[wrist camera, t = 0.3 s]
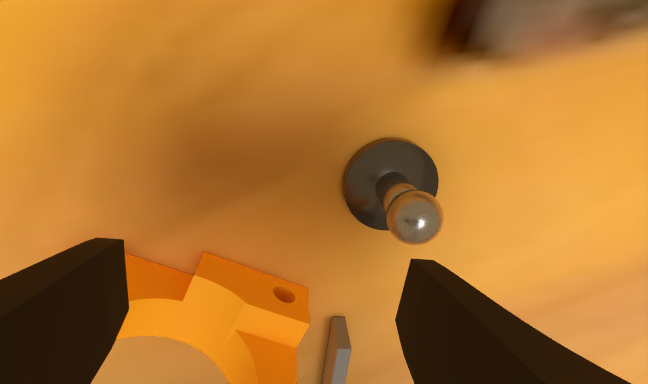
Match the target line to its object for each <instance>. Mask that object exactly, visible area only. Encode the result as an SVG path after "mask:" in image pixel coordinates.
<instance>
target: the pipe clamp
mask: <svg viewBox="0 0 648 384" xmlns="http://www.w3.org/2000/svg"><path fill="white" fill-rule="evenodd" d="M125 264H126V276H127V288H128V300H129V311H128V313H127V315H126V318H125V320H124V322H123V325H122V327H121V329H120V331H119V334H118V336H117V338H116V340H117V339H121V338H126V337H133V336H160V337H166V338H171V339H175V340H178V341H181V342H184V343H187V344H189V345H191V346H193V347H195V348H196V349H198V350H200V351H201V352H203V353H204V354H205V355H207V356H208V357H209V358H210V359H211V360H212V361H214V363H215V364H216V365H217V366H218V367H219V368H220V370H221V371H222V372H223V374H224V375H225V377H226V379H227V380H228V383H229V384H297V369H296V347H297V346H298V344H299V342H300V341H301V339H302V337H303V336H304V334H305V332H306V331H307V329H308V327H309V326H310V317H309V304H308V291H307V288H305V287H302V286H299V285H296V284H294V283H291V282H288V281H285V280H282V279H280V278H277V277H274V276H271V275H268V274H265V273H263V272H260V271H257V270H254V269H251V268H248V267H246V266H243V265H240V264H237V263H234V262H232V261H229V260H226V259H223V258H220V257H217V256H215V255H212V254H209V253H206V252H204V253H203V255H202V257H201V260H200V262H199V264H198V266H197V269H196V271H195V273H194V276H192V275H189V274H186V273H183V272H180V271H177V270H174V269H171V268H168V267H165V266H162V265H159V264H156V263H153V262H150V261H147V260H144V259H142V258H139V257H136V256H133V255H130V254H127V253H125Z"/></svg>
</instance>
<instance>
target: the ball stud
mask: <svg viewBox="0 0 648 384" xmlns="http://www.w3.org/2000/svg"><path fill="white" fill-rule="evenodd" d="M437 189H438V173H437V169H436V166H435V164H434V162H433V160H432V159H431V157H430V156H429V155H428V154H427V153H426V152H425V151H424V150H422V149H421V148H420V147H418V146H417V145H415V144H414V143H412V142H410V141H408V140H404V139H400V138H384V139H380V140H377V141H374V142H372V143H370V144H368V145H366V146H365V147H363V148H362V149H361V150H359V151H358V152H357V153H356V154H355V155H354V157H353V158H352V159H351V161H350V162H349V164H348V166H347V168H346V171H345V173H344V178H343V192H344V197H345V199H346V202H347V205H348V207H349V209H350V211H351V213H352V214H353V215H354V216H355V217H356V219H357V220H359V221H360V222H361V223H363V224H364V225H366V226H368V227H371V228H374V229H378V230H390V232H391V233H392V235H393V236H394V237H395V238H397V239H398V240H399V241H401V242H403V243H406V244H409V245H421V244H425V243H427V242H429V241H431V240H432V239H434V238H435V237H436V236H437V234H438V233H439V232H440V230H441V228H442V224H443V211H442V208H441V206H440V204H439V202H438V201H437V200H436V199H435V197H436V193H437Z"/></svg>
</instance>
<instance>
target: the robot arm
mask: <svg viewBox="0 0 648 384" xmlns="http://www.w3.org/2000/svg"><path fill="white" fill-rule="evenodd" d="M128 311H129V300H128V288H127V276H126V264H125V251H124V240H122V239H107V238H94V239H91V240H89V241H86V242H83V243H81V244H79V245H76V246H74V247H72V248H69V249H67V250H65V251H63V252H60V253H58V254H56V255H54V256H52V257H49V258H47V259H45V260H43V261H41V262H39V263H36V264H34V265H32V266H30V267H28V268H25V269H23V270H21V271H19V272H17V273H14V274H12V275H10V276H8V277H6V278H3V279H1V280H0V384H90V383H91V382H92V380H93V378H94V377H95V375H96V374H97V372H98V370H99V369H100V367H101V365H102V364H103V362H104V360H105V359H106V357H107V355H108V354H109V352H110V350H111V348H112V346H113V344H114V342H115V340H116V338H117V336H118V334H119V331H120V329H121V327H122V325H123V322H124V320H125V318H126V315H127V313H128ZM395 321H396V325H397V330H398V334H399V338H400V342H401V346H402V350H403V354H404V357H405V360H406V363H407V365H408V368H409V371H410V373H411V376H412V378H413V381H414V384H631V383H629V382H627V381H625V380H623V379H621V378H620V377H618V376H616V375H614V374H612V373H610V372H608V371H606V370H605V369H603V368H601V367H599V366H597V365H596V364H594V363H592V362H590V361H588V360H587V359H585V358H583V357H581V356H580V355H578V354H576V353H574V352H572V351H571V350H569V349H567V348H566V347H564V346H562V345H561V344H559V343H557V342H556V341H554V340H552V339H551V338H549V337H547V336H546V335H544V334H543V333H541V332H540V331H538V330H536V329H535V328H533V327H532V326H530V325H529V324H527V323H525V322H524V321H522V320H521V319H519V318H518V317H516V316H515V315H513V314H512V313H510V312H509V311H507V310H506V309H504V308H503V307H502V306H500V305H499V304H497V303H496V302H494V301H493V300H491V299H490V298H489V297H487V296H486V295H484V294H483V293H481V292H480V291H479V290H477V289H476V288H474V287H473V286H471V285H470V284H469V283H467V282H466V281H464V280H463V279H462V278H460V277H459V276H457V275H456V274H454V273H453V272H451V271H450V270H448V269H447V268H445V267H444V266H442V265H441V264H439V263H437V262H435V261H434V260H424V259H411V261H410V265H409V269H408V273H407V276H406V280H405V284H404V288H403V292H402V296H401V300H400V303H399V307H398V311H397V315H396V319H395Z"/></svg>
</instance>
